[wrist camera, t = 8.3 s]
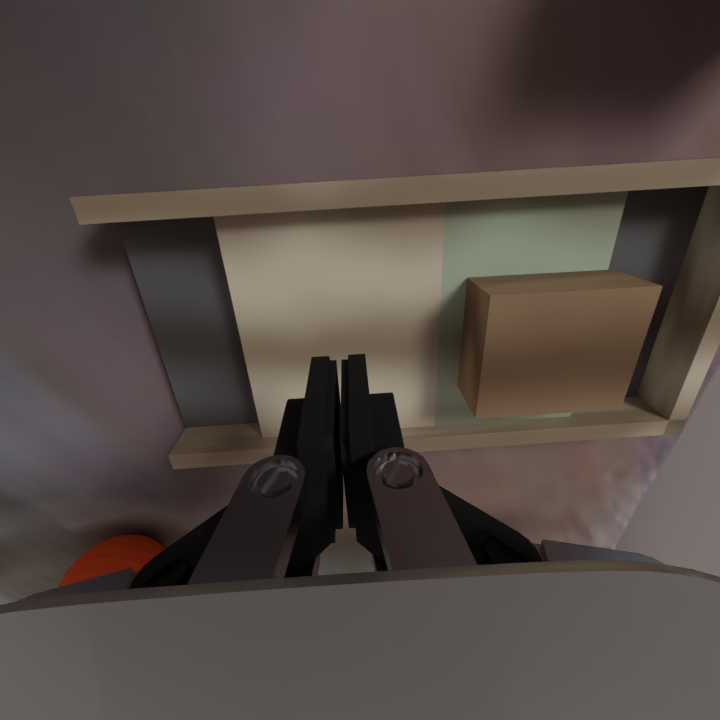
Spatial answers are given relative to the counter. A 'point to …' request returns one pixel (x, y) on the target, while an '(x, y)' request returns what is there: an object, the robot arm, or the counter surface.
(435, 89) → the counter surface
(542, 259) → the tray
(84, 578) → the clementine
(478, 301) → the walnut block
